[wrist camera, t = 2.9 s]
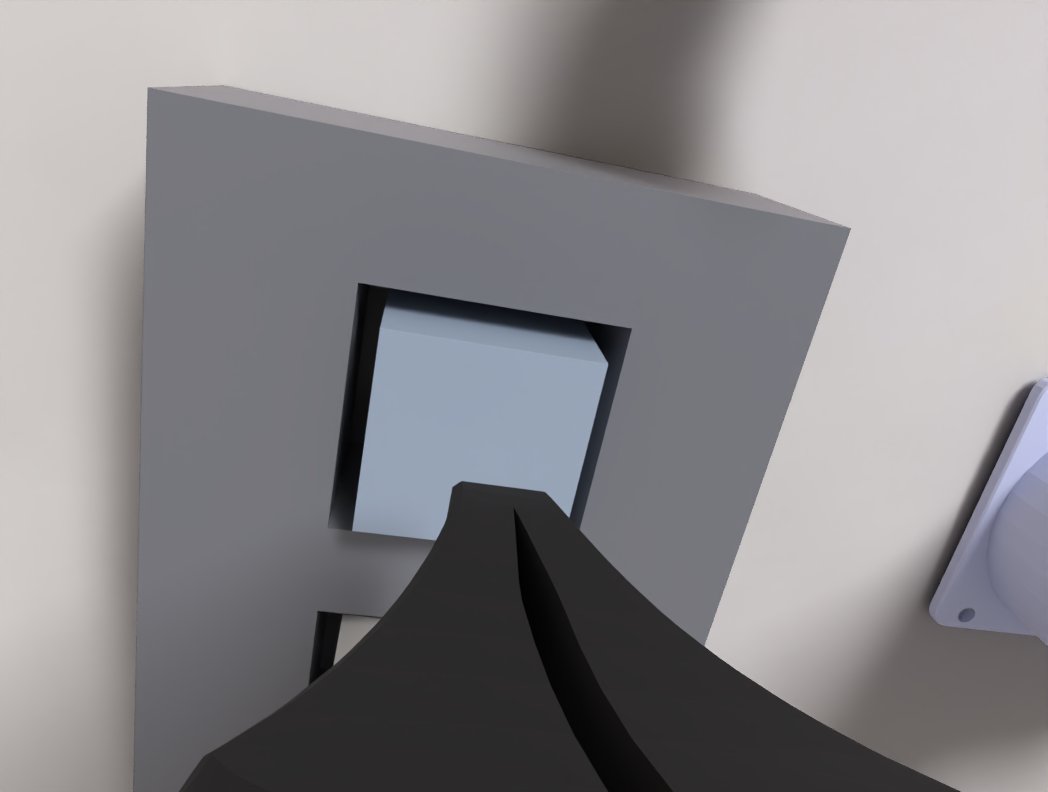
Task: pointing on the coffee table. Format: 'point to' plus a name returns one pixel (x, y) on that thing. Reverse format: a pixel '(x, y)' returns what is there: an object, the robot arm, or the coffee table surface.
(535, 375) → the blue key
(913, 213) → the coffee table surface
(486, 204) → the key housing
